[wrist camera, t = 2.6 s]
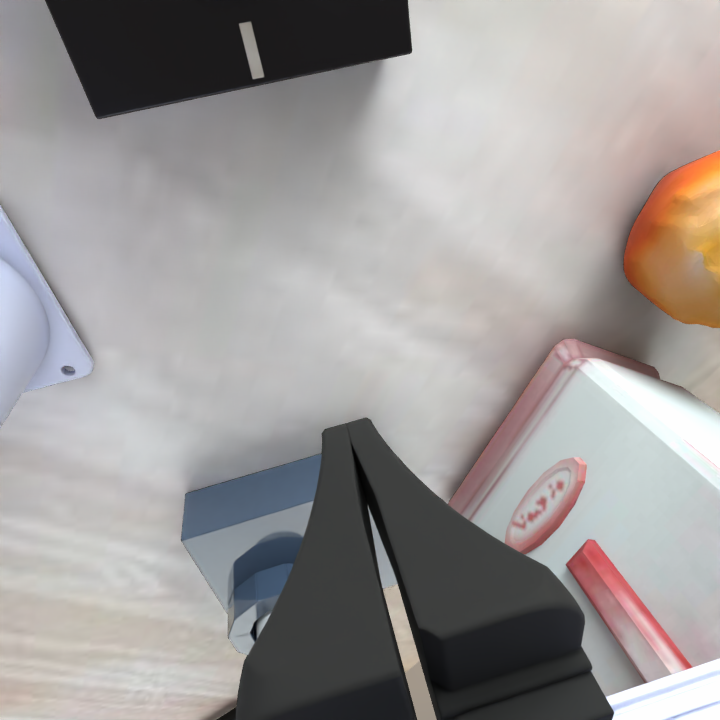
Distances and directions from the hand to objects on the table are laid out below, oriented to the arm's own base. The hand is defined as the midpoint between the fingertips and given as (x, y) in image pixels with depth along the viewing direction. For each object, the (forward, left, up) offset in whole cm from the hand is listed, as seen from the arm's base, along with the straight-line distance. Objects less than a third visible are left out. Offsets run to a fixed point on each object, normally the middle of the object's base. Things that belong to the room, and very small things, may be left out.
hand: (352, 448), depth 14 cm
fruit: (+19, -1, -11) cm, 22 cm away
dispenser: (-4, -15, -10) cm, 18 cm away
